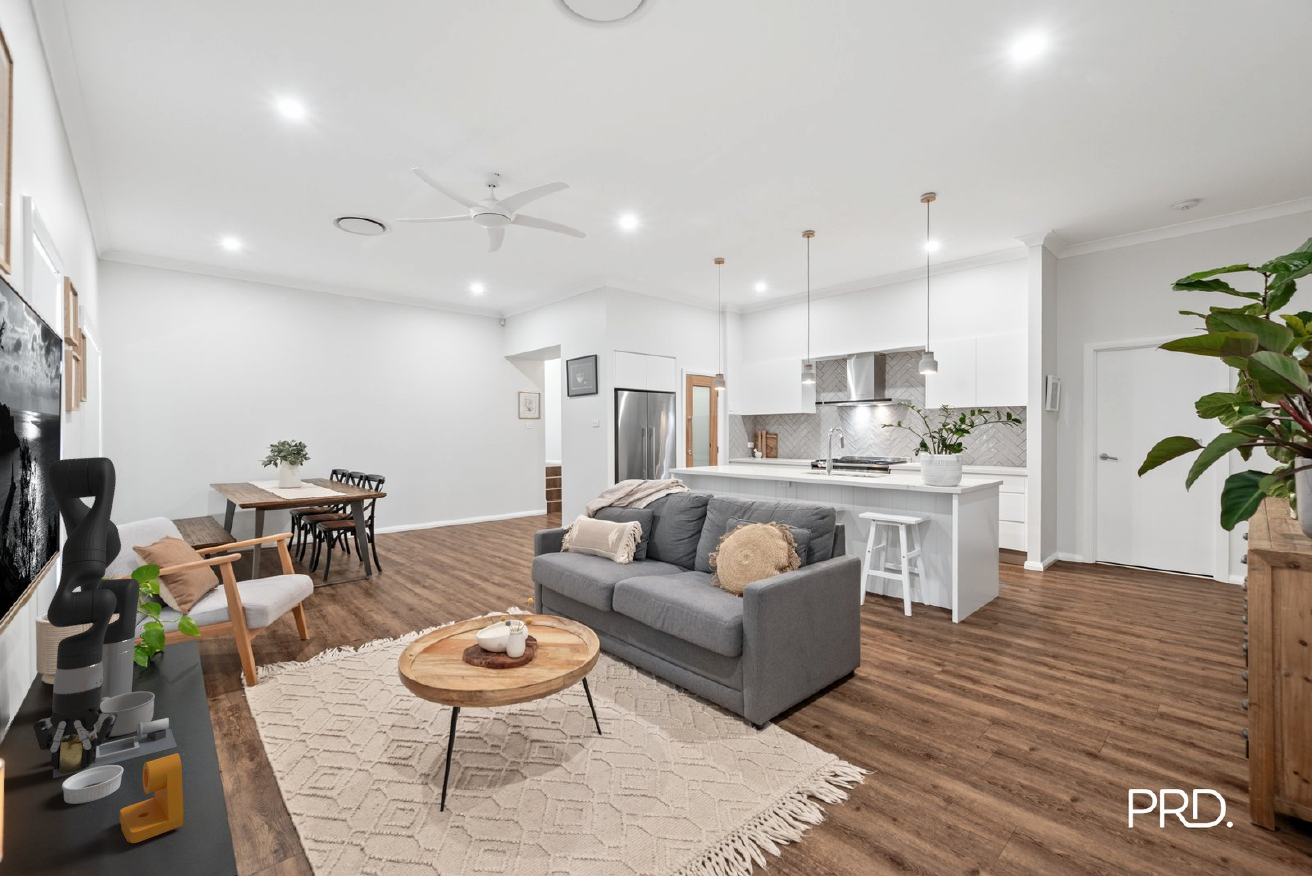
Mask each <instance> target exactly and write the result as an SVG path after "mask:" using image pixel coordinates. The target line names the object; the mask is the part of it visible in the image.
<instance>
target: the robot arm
mask: <svg viewBox="0 0 1312 876" xmlns="http://www.w3.org/2000/svg"><path fill="white" fill-rule="evenodd" d="M116 476H117V475H116V469H115V466H114V463H113V461H112V460H111V458H109V457H97V456H95V457H81V458H79V457H78V458H66V459H65V458H64V459H58V460H55V461H52V462H51V464H50V465H49V467H48V469H47V481H48V485H49V488H50V489H49V490H50V491H51V493H52V496H53V498H54V501H55V504H56V505H57V508H58V511H59V513H60V516H61V518H62V522H63V523H64V528H65V534H66V540H65V542H64V543H63V547H62V551H61V553H62V554H61V572H60V579H59V583H58V586H57V588H56V591H55V594H54V596H53V597H52V599H51V601H50V603H49V606H48V609H47V614H46V616H47V621H48V622H49V624H50V625H52V626H53V627H56V628H68V627H75V626H81V625H83V626H84V625H89V624H91V626H90V627H89V628H88V629H87V630H85V631H83V632H79V633H77V634H73V635H70V636H68V637H67V636H66V637H65V638H62V639H61V640H60V641H59V642H58V644H57V655H56V669H55V673H54V679H53V692H52V707H51V708H52V709H51V710H52V714H51V716H50V717H48V718H47V717H44V718H41V719H40V720H38V721H37V722H35V723H34V724H32V726H33V730H34V733H35V734H34V735H35V736H36V739H37V742H38V747H39V749H40V750H42V751H45V750H47V751H50V752H51V760H50V765H51V768H53V767H54V770H55V769H59V759H60V744H61V742H63V741H64V740H66V739H67V738H69V737H70V736H72V735H73V734H74V735H79V738H80V740H81V741H82V742H83V745H84V748H85V750H83V762H82V767H88V766H89V765H90V764H92V762H93V761H95V759H96V747H97V746H100V745H101V744H104V743H106V741H108V740H109V738H110V737H109V736H110V733H111V731H112V728H113V726H114V724H115V721H116V719H117V714H116V713H114V714H112V715H108V714H103V713H102V710H101V709H100V704H101V699H102V698H104V697H108V698H112V697H115V696H118V695H122V694H126V693H131V692H133V691H132V690H133V677H134V676H133V675H134V660H135V659H134V658H135V639H136V637H135V635H136V625H137V614H138V607H139V601H140V599H139V598H140V583H139V580H138V579H135V578H116V579H115V578H114V579H113V578H112V579H110V578H109V579H103V578H104V577H105V575H106V570H107V569H108V567H110V566H111V565H112V563H113V562H114V561H115V560H116V559H117V557H118V556H119V555H120V552H121V550H122V544H121V543H122V542H121V537H120V534H119V529H118V527H117V525H116V524H115V523H114V522H113V521H112V520H111V516H112V510H113V504H114V497H115V491H116V485H117V483H116V481H117V477H116ZM81 498H82V499H83V498H94V501H93V503H92V506H91V507H89V506H88V505H87V504H86V503H84V502H83V501H82V499H81ZM77 588H80V591H79V590H78V591H74V590H75V589H77ZM117 614H118V619H116V620H114V621H113V622H111V619H112V618H113V616H114V615H117ZM98 720H100V726H101V729H100V731H99V733H98V732H97V728H96V722H97V721H98ZM52 727H54V728H55V729H56V732H55V734H54V733H53V729H52ZM87 731H88V732H87Z"/></svg>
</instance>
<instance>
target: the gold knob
mask: <svg viewBox="0 0 1312 876" xmlns="http://www.w3.org/2000/svg"><path fill="white" fill-rule="evenodd" d="M87 732H88V731H87ZM83 750H85V748H84V745H83V742H82V741H81V740H80V738H79V735H74V734H72V735H70V736H69V737H68V738H67V739H66V740H64V741H63V742H61V744H60V759H59V772H60V773H70V772H74V771H78V770H80V769H83V768H84V767H82V762H83Z"/></svg>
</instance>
